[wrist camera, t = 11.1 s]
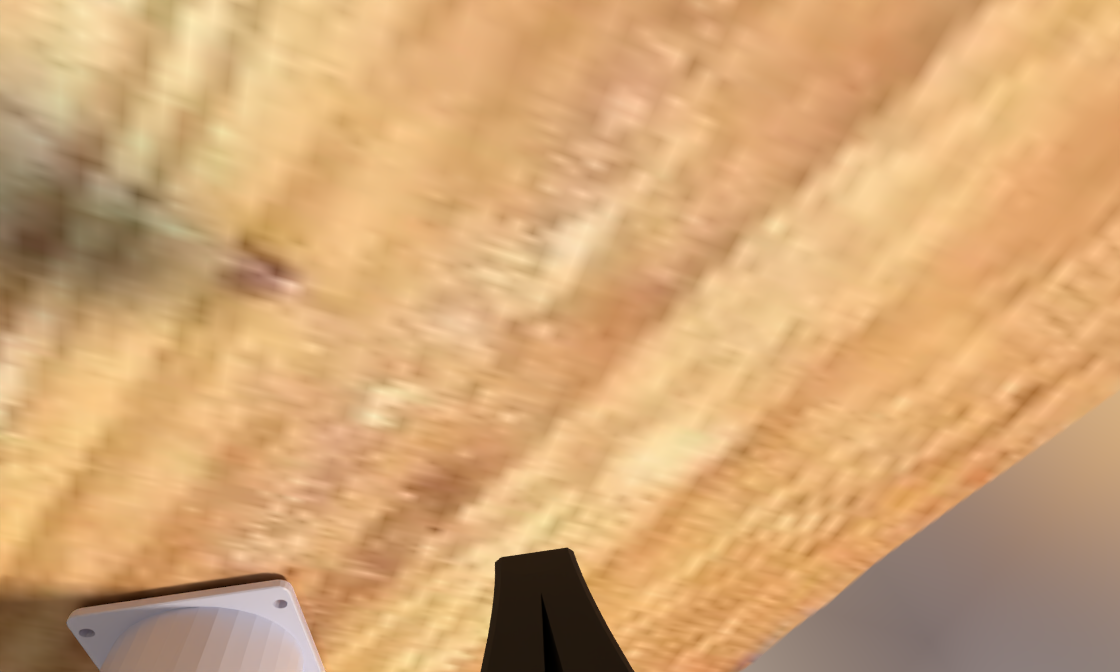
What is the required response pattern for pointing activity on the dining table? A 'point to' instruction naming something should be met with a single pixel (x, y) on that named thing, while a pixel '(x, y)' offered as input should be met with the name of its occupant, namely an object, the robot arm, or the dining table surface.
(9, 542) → the dining table surface
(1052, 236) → the dining table surface
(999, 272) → the dining table surface
